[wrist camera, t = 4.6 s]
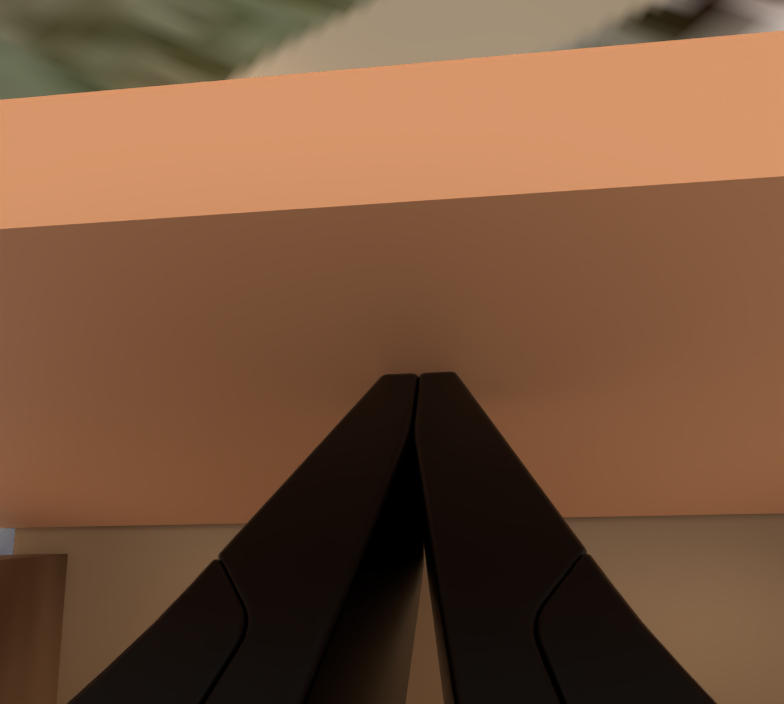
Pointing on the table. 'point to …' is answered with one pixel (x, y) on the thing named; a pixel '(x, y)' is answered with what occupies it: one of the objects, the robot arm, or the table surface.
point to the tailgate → (398, 277)
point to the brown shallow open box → (424, 695)
